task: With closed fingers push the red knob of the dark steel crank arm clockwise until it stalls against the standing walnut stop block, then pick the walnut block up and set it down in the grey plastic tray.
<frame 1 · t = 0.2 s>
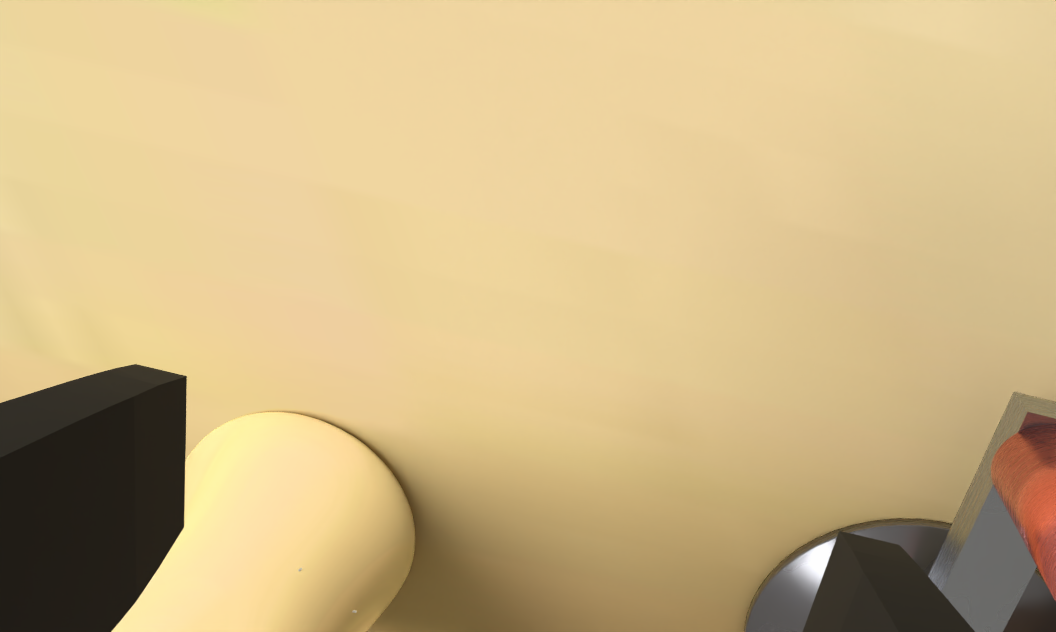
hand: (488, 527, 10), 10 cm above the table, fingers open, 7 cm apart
beer glass: (301, 513, 23), on the table
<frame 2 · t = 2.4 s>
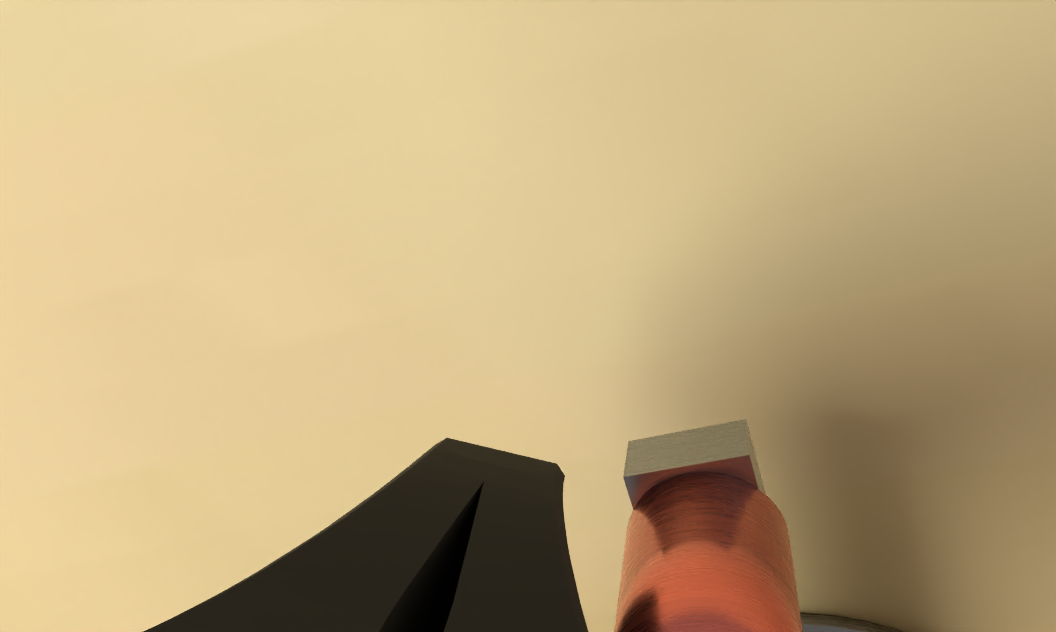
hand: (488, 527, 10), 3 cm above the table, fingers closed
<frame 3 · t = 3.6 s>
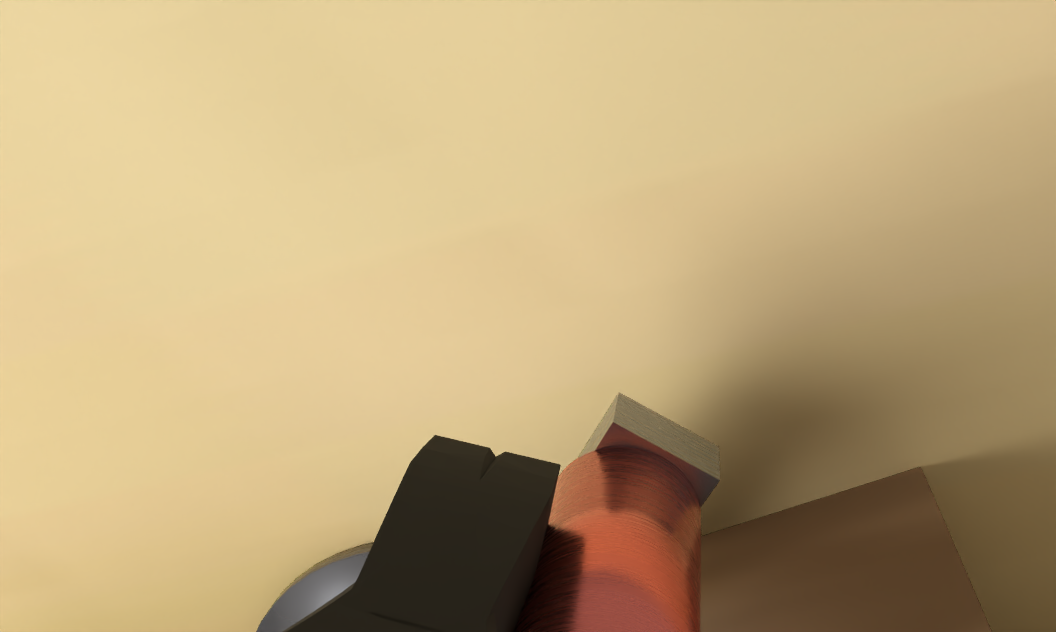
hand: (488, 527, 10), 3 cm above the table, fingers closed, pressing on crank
stop block: (838, 608, 13), on the table
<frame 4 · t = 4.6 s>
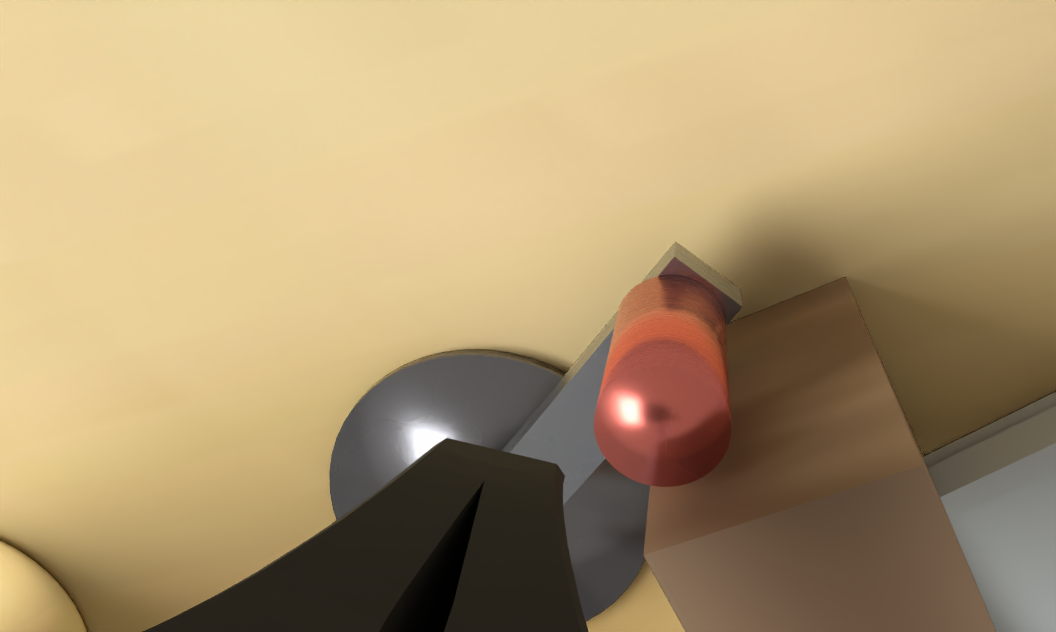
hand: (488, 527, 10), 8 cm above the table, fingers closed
crank: (539, 503, 16), point 3 cm above the table, hinge at -72.5°, touching stop block
stop block: (788, 393, 18), on the table, touching crank
crank hub: (490, 498, 20), on the table
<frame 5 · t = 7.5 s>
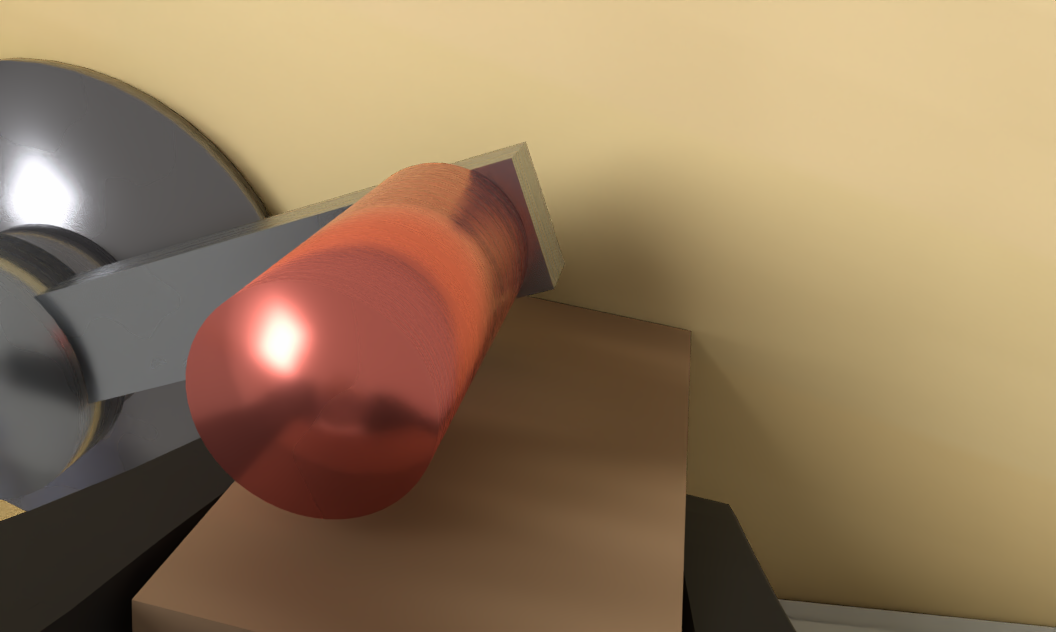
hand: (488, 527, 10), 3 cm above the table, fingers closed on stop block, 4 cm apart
crank: (89, 376, 9), point 3 cm above the table, hinge at -72.6°, touching stop block
stop block: (529, 422, 12), on the table, touching crank, gripper
crank hub: (73, 313, 13), on the table
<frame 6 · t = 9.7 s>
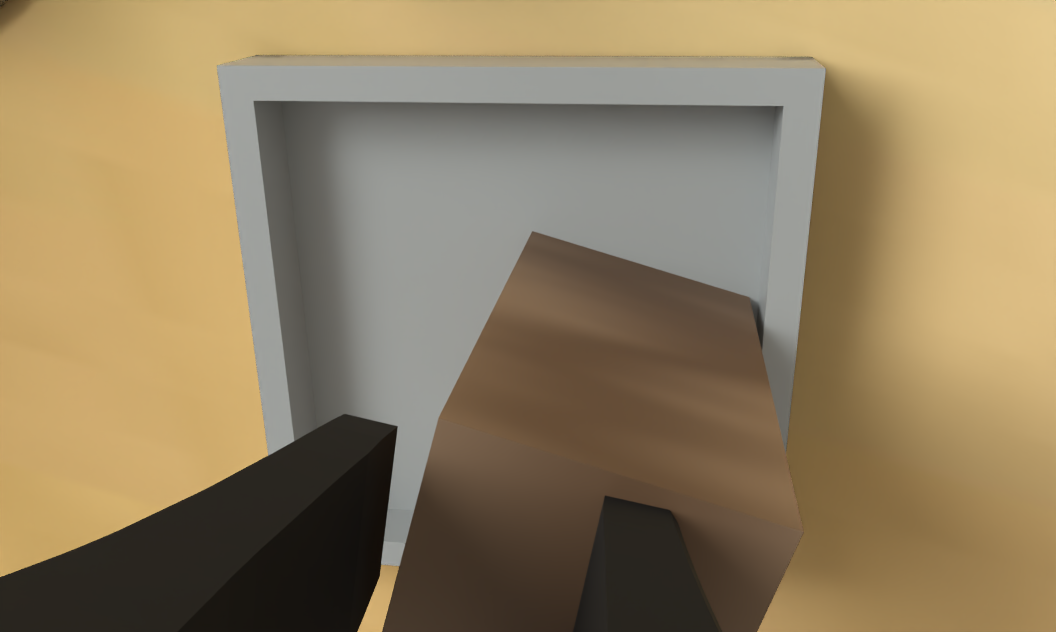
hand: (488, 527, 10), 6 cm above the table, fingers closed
stop block: (607, 361, 15), resting on tray, touching gripper
tray: (525, 316, 16), on the table
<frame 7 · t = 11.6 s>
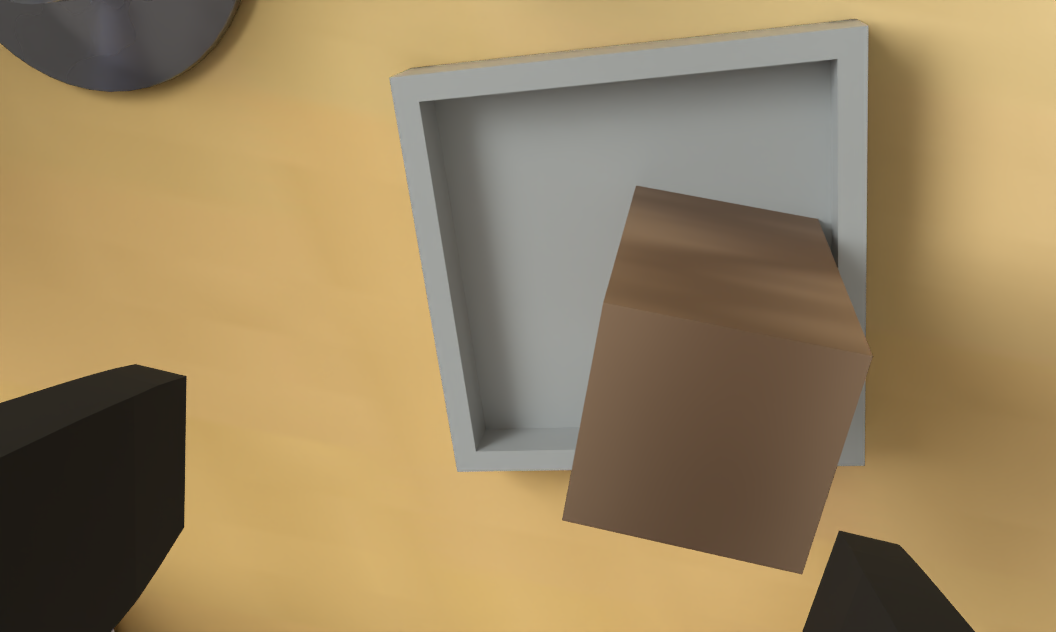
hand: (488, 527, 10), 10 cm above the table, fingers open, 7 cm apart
stop block: (706, 285, 19), resting on tray
tray: (639, 256, 19), on the table
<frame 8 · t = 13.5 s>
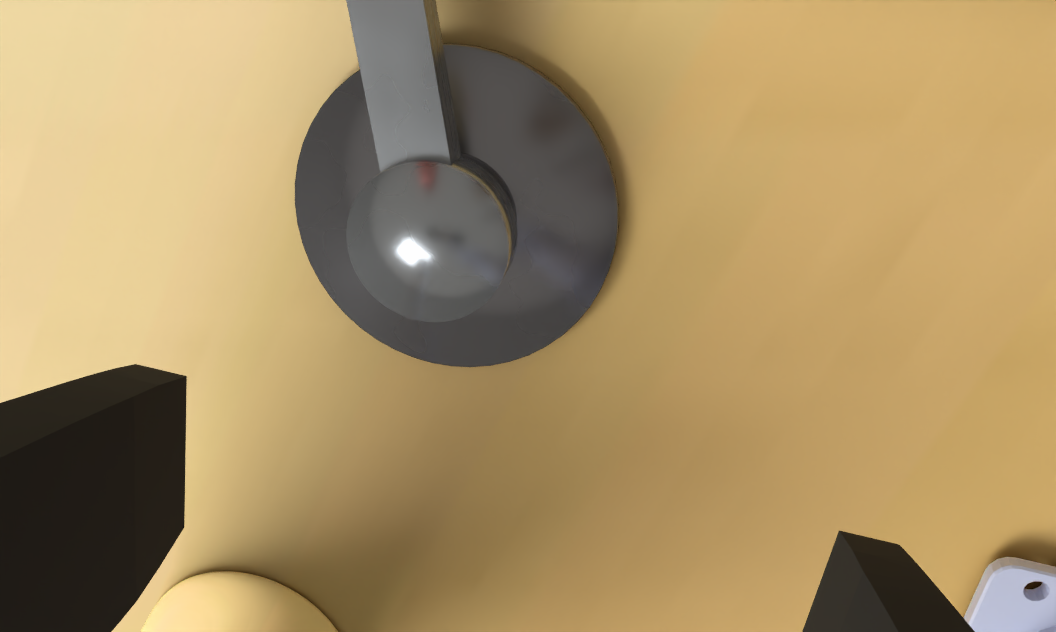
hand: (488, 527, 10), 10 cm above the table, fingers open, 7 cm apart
crank: (377, 105, 16), point 3 cm above the table, hinge at -72.6°
crank hub: (455, 212, 20), on the table
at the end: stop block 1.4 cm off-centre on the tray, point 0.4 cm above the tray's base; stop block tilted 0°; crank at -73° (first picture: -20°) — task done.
